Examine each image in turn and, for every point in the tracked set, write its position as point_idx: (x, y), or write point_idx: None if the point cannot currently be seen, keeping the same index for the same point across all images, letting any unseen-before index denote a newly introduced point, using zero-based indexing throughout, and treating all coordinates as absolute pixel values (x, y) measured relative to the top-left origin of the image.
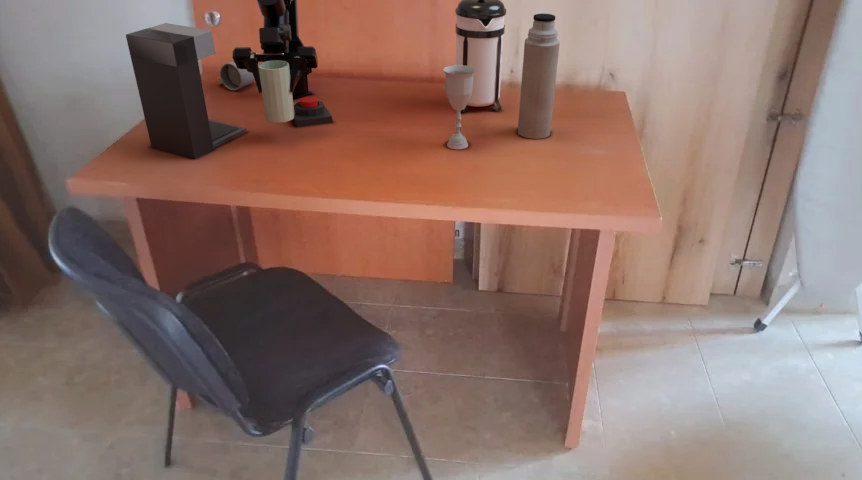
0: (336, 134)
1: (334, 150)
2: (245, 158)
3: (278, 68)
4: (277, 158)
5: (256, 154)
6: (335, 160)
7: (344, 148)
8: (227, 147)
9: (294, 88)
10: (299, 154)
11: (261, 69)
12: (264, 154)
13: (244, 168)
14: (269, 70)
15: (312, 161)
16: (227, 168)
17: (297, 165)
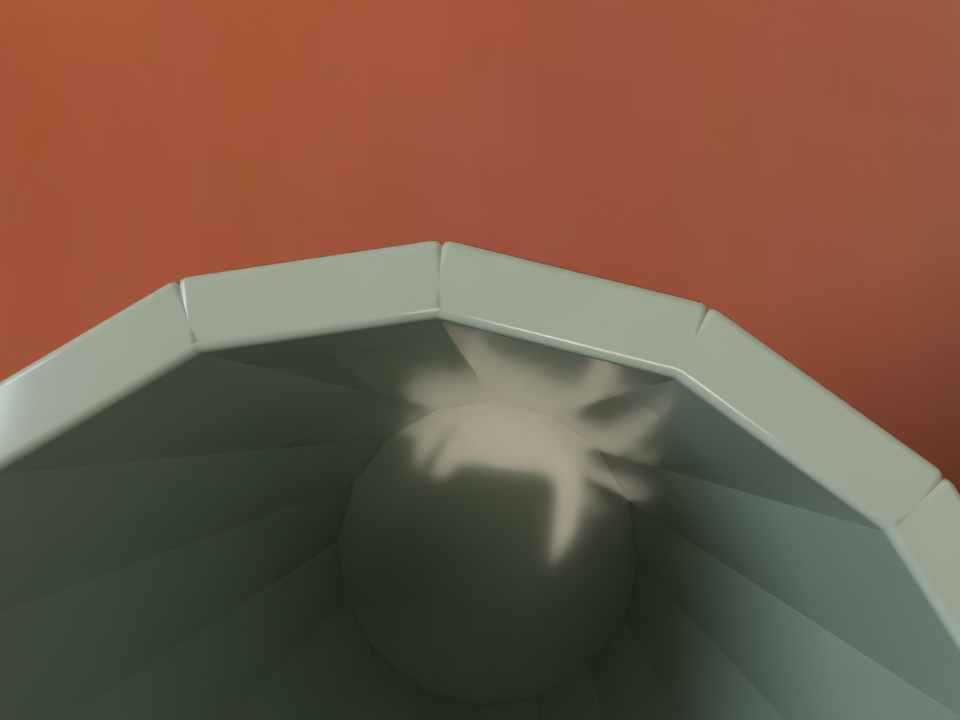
0: None
1: (108, 238)
2: (781, 202)
3: (183, 345)
4: (537, 162)
5: (699, 263)
6: (121, 59)
7: (30, 262)
8: (945, 446)
9: None
10: (371, 208)
11: (942, 503)
12: (637, 253)
13: (777, 25)
14: (584, 274)
15: (284, 68)
16: (904, 44)
17: (394, 17)
